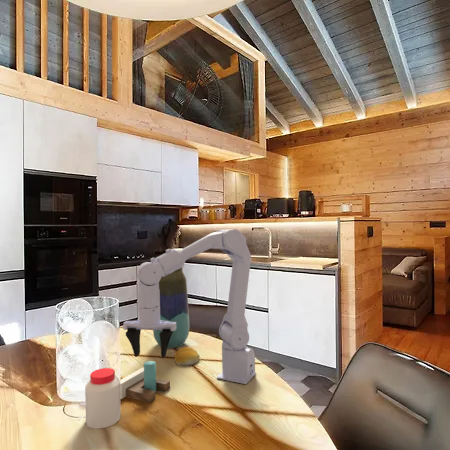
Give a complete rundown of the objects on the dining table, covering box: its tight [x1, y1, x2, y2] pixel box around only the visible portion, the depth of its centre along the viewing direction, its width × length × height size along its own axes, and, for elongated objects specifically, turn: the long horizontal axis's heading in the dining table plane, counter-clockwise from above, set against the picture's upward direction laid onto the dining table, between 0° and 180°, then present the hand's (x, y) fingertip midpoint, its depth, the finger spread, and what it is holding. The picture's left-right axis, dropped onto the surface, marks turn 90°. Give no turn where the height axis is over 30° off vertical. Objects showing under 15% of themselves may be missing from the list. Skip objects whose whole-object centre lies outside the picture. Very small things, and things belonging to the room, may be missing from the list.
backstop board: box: [119, 366, 144, 400], centre depth 97 cm, size 2×12×4 cm, turn 153°
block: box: [125, 377, 171, 404], centre depth 94 cm, size 8×9×2 cm
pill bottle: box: [84, 367, 122, 430], centre depth 81 cm, size 8×8×11 cm
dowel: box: [143, 360, 157, 395], centre depth 94 cm, size 3×3×8 cm
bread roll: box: [174, 346, 201, 366], centre depth 116 cm, size 8×9×4 cm
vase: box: [152, 267, 190, 349], centre depth 132 cm, size 14×14×31 cm
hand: (150, 355), depth 94 cm, fingers open, 7 cm apart
